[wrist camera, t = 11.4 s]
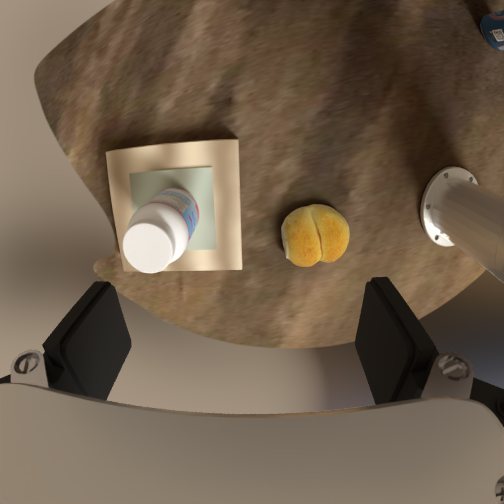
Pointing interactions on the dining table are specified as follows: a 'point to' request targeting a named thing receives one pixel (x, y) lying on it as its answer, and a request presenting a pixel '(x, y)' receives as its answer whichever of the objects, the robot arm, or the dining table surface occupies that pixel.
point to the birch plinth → (193, 182)
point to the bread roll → (314, 235)
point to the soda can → (494, 29)
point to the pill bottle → (160, 230)
